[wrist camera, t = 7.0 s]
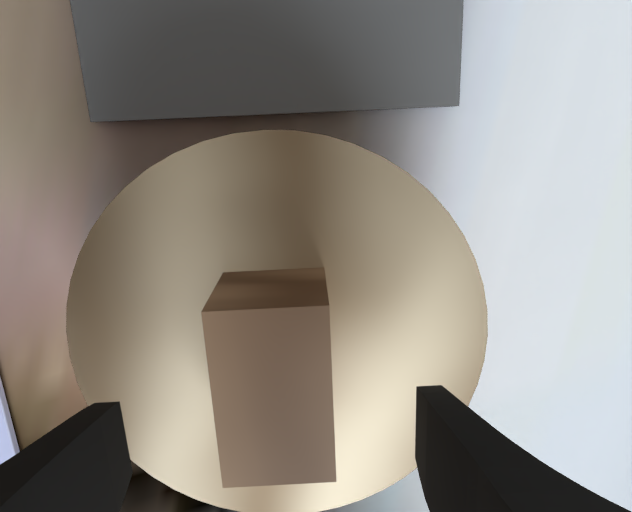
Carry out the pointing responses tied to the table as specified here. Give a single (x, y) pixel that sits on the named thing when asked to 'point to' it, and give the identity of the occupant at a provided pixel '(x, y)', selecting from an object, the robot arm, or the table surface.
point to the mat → (266, 56)
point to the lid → (274, 319)
